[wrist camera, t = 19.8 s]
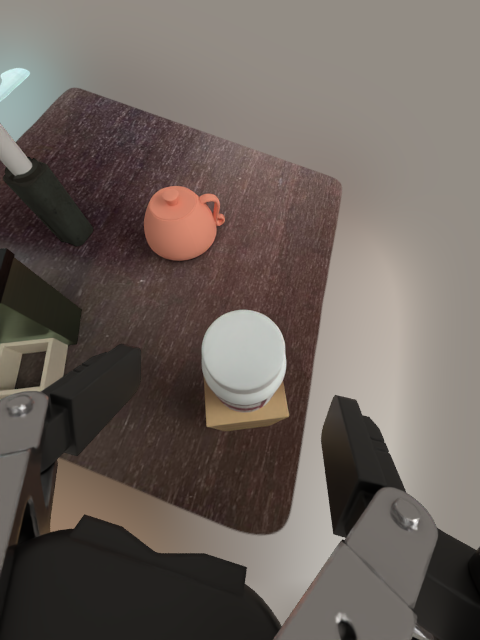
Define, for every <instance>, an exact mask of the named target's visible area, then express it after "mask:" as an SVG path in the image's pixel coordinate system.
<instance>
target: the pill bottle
mask: <svg viewBox="0 0 480 640" xmlns="http://www.w3.org/2000/svg"><path fill="white" fill-rule="evenodd" d="M202 371H203V375H204V377H205V380H206V382H207V384H208V386H209V387H210V389H211V390H212V391H213V392H214V393H215V395H216V396H217V397H218V399H219V400H220V401H221V402H222V403H223V404H224V405H225V406H226V407H228V408H229V409H231V410H234V411H237V412H242V413H248V412H253V411H256V410H259V409H261V408H262V407H263V406H265V405H266V404H267V403H268V402H269V401H270V399H271V398H272V397H273V395H274V393H275V392H276V391H277V389H278V388H279V386H280V385H281V383H282V381H283V378H284V376H285V371H286V356H285V342H284V339H283V336H282V334H281V332H280V330H279V328H278V327H277V326H276V324H275V323H274V322H273V321H272V320H271V319H269V318H268V317H267V316H265V315H263V314H261V313H258V312H255V311H251V310H236V311H232V312H229V313H226V314H224V315H222V316H221V317H219V318H218V319H217V320H215V321H214V322H213V323H212V324H211V326H210V327H209V328H208V330H207V332H206V334H205V336H204V339H203V343H202Z"/></svg>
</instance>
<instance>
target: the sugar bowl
mask: <svg viewBox="0 0 480 640" xmlns="http://www.w3.org/2000/svg"><path fill="white" fill-rule="evenodd" d="M209 201H214V202H215V206H214V211H213V214H212V212H211V210H210V209H209V207H208V206H207V204H206V202H209ZM219 210H220V202H219V200H218V198H217V197H216V196H215V195H213V194H204V195H202V196H200V197H199V196H198V195H196V194H195V193H194V192H192V191H191V190H189V189H187V188H185V187H181V186H171V187H166V188H163V189H161V190H159V191H158V192H157V193H155V194H154V195H153V197H152V198H151V200H150V202H149V204H148V207H147V210H146V213H145V218H144V230H145V236H146V239H147V242H148V244H149V246H150V248H151V249H152V250H153V251H154V252H155V253H156V254H158V255H159V256H161V257H163V258H166V259H169V260H175V261H182V260H189V259H192V258H195V257H197V256H199V255H201V254H202V253H204V252H205V251H206V250H207V249H209V247H210V246H211V245H212V243H213V242H214V239H215V237H216V231H217V229H216V225H217V226H220V225H222V224H223V223H224V221H225V217H224V215H223V214H219Z"/></svg>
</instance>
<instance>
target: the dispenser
mask: <svg viewBox="0 0 480 640" xmlns="http://www.w3.org/2000/svg"><path fill="white" fill-rule="evenodd" d="M81 311H82V310H81V309H80V308H79V307H78V306H76V305H75V304H74V303H72V302H71V301H70V300H68V299H67V298H66V297H65V296H63V295H62V294H61V293H59V292H58V291H57V290H56V289H54V288H53V287H52V286H50V285H49V284H48V283H47V282H45V281H44V280H43V279H41V278H40V277H39V276H37V275H36V274H35V273H34V272H32V271H31V270H30V269H28V268H27V267H26V266H25V265H23V264H22V263H21V262H19V261H18V260H17V259H16V258H14V254H13V253H12V252H11V251H9V250H8V249H7V248H3V249H0V344H1V343H10V342H19V341H28V340H37V339H46V338H55V339H57V340H59V341H60V342H62V343H64V344H66V345H75V344H77V339H78V332H79V325H80V318H81Z"/></svg>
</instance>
